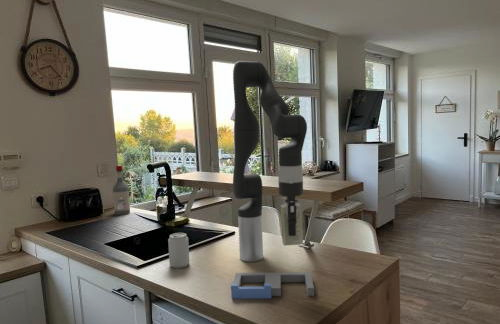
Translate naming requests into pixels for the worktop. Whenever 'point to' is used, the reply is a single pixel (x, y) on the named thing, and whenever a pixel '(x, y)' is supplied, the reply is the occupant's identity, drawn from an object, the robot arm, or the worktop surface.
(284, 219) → the skincare box
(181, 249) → the can
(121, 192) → the liquor
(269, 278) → the rail
